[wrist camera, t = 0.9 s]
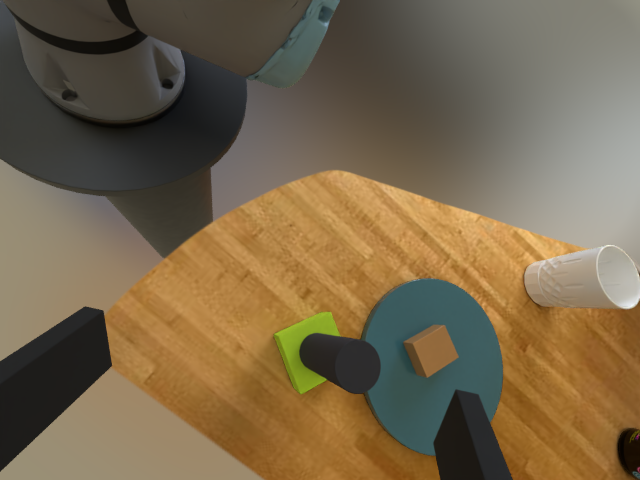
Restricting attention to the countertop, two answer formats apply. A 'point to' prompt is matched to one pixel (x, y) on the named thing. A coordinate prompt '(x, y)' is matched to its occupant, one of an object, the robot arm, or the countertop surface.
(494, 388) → the plate
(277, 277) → the countertop surface
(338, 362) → the sponge wand
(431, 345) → the brown rectangular block
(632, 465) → the supplement container
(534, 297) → the white cup
